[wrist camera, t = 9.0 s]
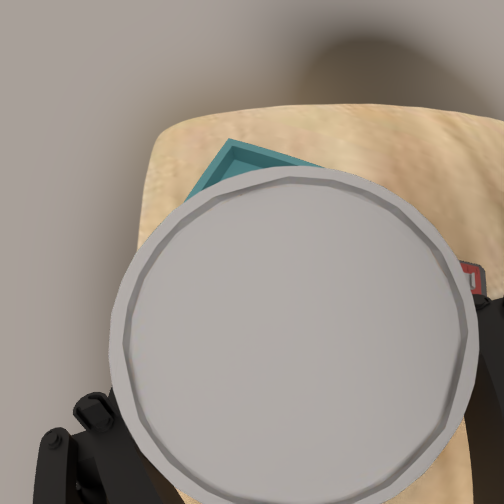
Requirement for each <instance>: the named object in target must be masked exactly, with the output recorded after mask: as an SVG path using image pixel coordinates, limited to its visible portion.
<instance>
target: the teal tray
mask: <svg viewBox="0 0 504 504" xmlns="http://www.w3.org/2000/svg"><path fill="white" fill-rule="evenodd" d="M281 166H311V167H319V168H324V167H321V166H318V165H315V164H312V163H309V162H306V161H303V160H300V159H297V158H294V157H291V156H288V155H285V154H282V153H279V152H275V151H272V150H269V149H265V148H262V147H258V146H255V145H252V144H248V143H244V142H241V141H237V140H233V139H230V138H229V139H228V140H227V141H226V143H225V144H224V145H223V147H222V148H221V150H220V151H219V152H218V154H217V155H216V156H215V158H214V159H213V161H212V162H211V163H210V165H209V166H208V168H207V169H206V171H205V172H204V173H203V175H202V176H201V178H200V179H199V181H198V182H197V184H196V185H195V186H194V188H193V189H192V191H191V192H190V194H189V195H188V197H187V198H186V200H185V201H184V202H186V201H187V200H189V199H190V198H191V197H193V196H194V195H196V194H197V193H199V192H200V191H202V190H204V189H206V188H208V187H210V186H212V185H214V184H216V183H218V182H220V181H222V180H224V179H227V178H231V177H234V176H237V175H240V174H243V173H246V172H250V171H254V170H259V169H265V168H270V167H281Z"/></svg>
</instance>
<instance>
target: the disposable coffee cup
mask: <svg viewBox="0 0 504 504" xmlns="http://www.w3.org/2000/svg"><path fill="white" fill-rule="evenodd" d="M478 356H479V332H478V319H477V314H476V309H475V305H474V300H473V296H472V293H471V290H470V288H469V285H468V282H467V280H466V277H465V275H464V272H463V270H462V267H461V265H460V262H459V260H458V259H457V257H456V256H455V254H454V253H453V251H452V250H451V249H450V247H449V246H448V244H447V243H446V241H445V240H444V239H443V237H442V236H441V234H440V233H439V232H438V230H437V229H436V228H435V227H434V226H433V225H432V224H431V223H430V222H429V221H428V220H427V219H426V218H425V217H424V216H423V215H422V214H421V213H420V212H419V211H418V210H417V209H416V208H414V207H413V206H412V205H411V204H409V203H408V202H406V201H405V200H403V199H402V198H400V197H399V196H397V195H396V194H394V193H392V192H391V191H389V190H388V189H386V188H384V187H383V186H380V185H378V184H376V183H374V182H371V181H369V180H366V179H364V178H362V177H359V176H357V175H354V174H350V173H346V172H343V171H339V170H334V169H327V168H319V167H311V166H281V167H270V168H265V169H259V170H254V171H250V172H246V173H243V174H240V175H237V176H234V177H231V178H227V179H224V180H222V181H220V182H218V183H216V184H214V185H212V186H210V187H208V188H206V189H204V190H202V191H200V192H199V193H197V194H196V195H194V196H193V197H191V198H190V199H189V200H187V201H186V202H184V203H183V204H181V205H180V206H179V207H177V208H176V209H175V210H173V211H172V212H171V213H170V214H169V215H168V216H167V217H166V218H165V219H164V221H163V222H162V223H161V224H160V225H159V226H158V227H157V228H156V229H155V230H154V231H153V233H152V234H151V235H150V236H149V238H148V239H147V240H146V241H145V242H144V244H143V245H142V246H141V247H140V249H139V250H138V251H137V252H136V254H135V256H134V258H133V260H132V262H131V264H130V266H129V267H128V269H127V272H126V274H125V275H124V277H123V280H122V282H121V285H120V288H119V291H118V294H117V297H116V300H115V304H114V308H113V310H112V315H111V326H110V339H109V364H110V372H111V379H112V386H113V391H114V394H115V397H116V400H117V403H118V406H119V409H120V412H121V415H122V418H123V419H124V421H125V423H126V425H127V427H128V429H129V431H130V433H131V434H132V436H133V438H134V440H135V442H136V443H137V445H138V447H139V449H140V450H141V452H142V453H143V454H144V455H145V456H146V457H147V458H148V460H149V461H150V462H151V463H152V464H153V465H154V466H155V467H156V468H157V469H158V470H159V471H160V472H161V473H162V474H163V475H164V476H165V477H166V478H167V479H168V480H169V481H170V482H171V483H172V484H173V485H174V486H175V487H176V488H177V489H179V490H180V491H182V492H183V493H185V494H187V495H188V496H190V497H192V498H193V499H195V500H197V501H199V502H200V503H202V504H382V503H384V502H386V501H387V500H389V499H391V498H393V497H395V496H396V495H397V494H399V493H400V492H401V491H403V490H404V489H405V488H407V487H408V486H409V485H410V484H412V483H413V482H414V481H415V480H416V479H418V478H419V477H420V476H421V475H422V474H424V473H425V472H426V470H427V469H428V468H429V467H430V466H431V464H432V463H433V462H434V461H435V459H436V458H437V457H438V456H439V454H440V453H441V452H442V450H443V449H444V448H445V446H446V445H447V443H448V442H449V440H450V439H451V437H452V436H453V434H454V433H455V431H456V429H457V428H458V426H459V425H460V423H461V421H462V419H463V416H464V413H465V411H466V408H467V405H468V402H469V399H470V397H471V394H472V391H473V387H474V384H475V378H476V371H477V364H478Z"/></svg>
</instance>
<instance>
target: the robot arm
mask: <svg viewBox="0 0 504 504" xmlns="http://www.w3.org/2000/svg"><path fill="white" fill-rule="evenodd" d="M472 296H473V300H474V305H475V309H476V314H477V319H478V332H479V356H478V364H477V371H476V378H475V384H474V387H473V391H472V394H471V397H470V399H469V402H468V405H467V408H466V411H465V413H464V419H465V424H466V430H467V437H468V443H469V451H470V459H471V469H472V481H473V500H474V504H504V297H503V298H500V299H496V300H491V299H490V298H488V297H486V296H485V295H481V294H472ZM73 415H74V416H75V418H76V419H77V420H78V421H79V422H80V424H81V425H82V426H83V427H84V428H85V429H86V431H83V432H80V433H78V434H74V435H70V434H69V433H68V431H67V430H66V429H64V428H61V427H59V428H54V429H51V430H50V431H48V432H47V433H46V434H45V435H44V436H43V438H42V440H41V443H40V447H39V453H38V460H37V467H36V475H35V484H34V494H33V504H185V503H184V501H183V500H182V498H181V497H180V495H179V493H178V492H177V490H176V489H175V487H174V485H173V484H172V483H171V482H170V481H169V480H168V479H167V478H166V477H165V476H164V475H163V474H162V473H161V472H160V471H159V470H158V469H157V468H156V467H155V466H154V465H153V464H152V463H151V462H150V461H149V460H148V458H147V457H146V456H145V455H144V454H143V453H142V452H141V450H140V449H139V447H138V445H137V443H136V442H135V440H134V438H133V436H132V434H131V433H130V431H129V429H128V427H127V425H126V423H125V421H124V419H123V418H122V415H121V412H120V409H119V406H118V403H117V400H116V397H115V394H114V391H113V386H112V388H111V390H110V393H109V396H108V397H107V396H106V395H105V394H104V393H101V392H93V393H90V394H87V395H86V396H84V397H82V398H81V399H80V400H79V401H78V402H77V403H76V405H75V407H74V409H73ZM76 483H77V487H76Z"/></svg>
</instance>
